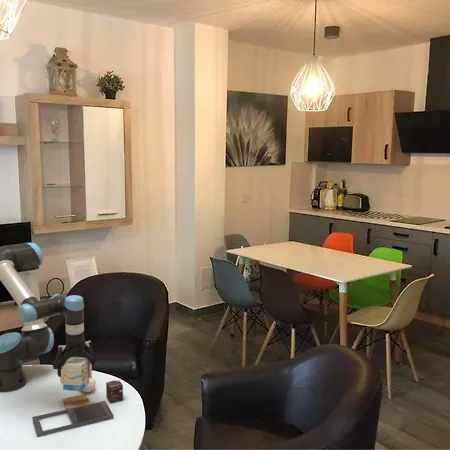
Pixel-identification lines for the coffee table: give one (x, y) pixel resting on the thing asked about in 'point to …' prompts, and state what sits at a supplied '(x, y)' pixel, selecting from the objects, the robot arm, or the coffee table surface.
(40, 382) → the coffee table surface
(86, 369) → the ink box
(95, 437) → the coffee table surface
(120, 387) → the box
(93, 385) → the ornament
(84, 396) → the pad
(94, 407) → the grey flat frame
